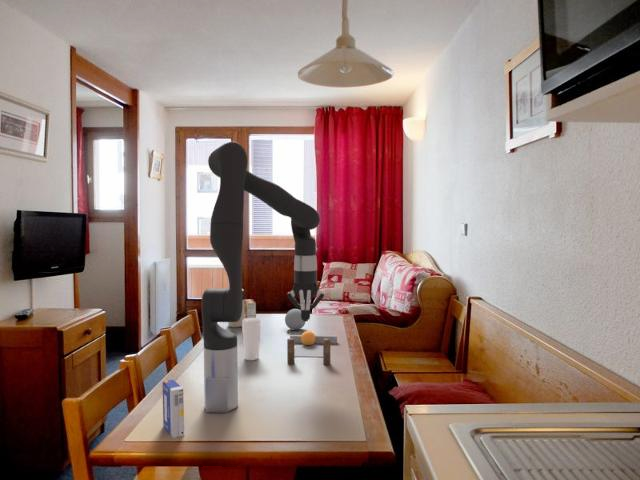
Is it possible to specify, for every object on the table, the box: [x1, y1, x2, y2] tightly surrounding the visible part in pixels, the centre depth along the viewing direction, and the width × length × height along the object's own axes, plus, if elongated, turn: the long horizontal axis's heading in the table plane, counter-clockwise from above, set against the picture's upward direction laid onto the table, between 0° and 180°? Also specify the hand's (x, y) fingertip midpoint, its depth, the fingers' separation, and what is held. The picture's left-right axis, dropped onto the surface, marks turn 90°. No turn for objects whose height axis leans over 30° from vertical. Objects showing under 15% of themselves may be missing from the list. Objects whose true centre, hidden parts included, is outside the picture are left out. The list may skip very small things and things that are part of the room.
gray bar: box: [289, 334, 338, 345], centre depth 191 cm, size 2×20×3 cm, turn 87°
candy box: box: [244, 298, 257, 318], centre depth 206 cm, size 9×4×15 cm, turn 17°
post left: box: [286, 337, 296, 365], centre depth 163 cm, size 3×3×9 cm
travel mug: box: [227, 288, 245, 328], centre depth 222 cm, size 8×8×18 cm
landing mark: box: [294, 345, 323, 358], centre depth 178 cm, size 14×14×1 cm
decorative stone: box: [284, 308, 307, 331], centre depth 213 cm, size 10×10×10 cm
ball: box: [301, 330, 316, 346], centre depth 187 cm, size 6×6×6 cm
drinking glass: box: [241, 317, 262, 362], centre depth 169 cm, size 7×7×15 cm
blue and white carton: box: [162, 379, 185, 439], centre depth 111 cm, size 8×3×12 cm, turn 36°
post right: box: [322, 339, 331, 366], centre depth 163 cm, size 3×3×9 cm
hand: (305, 320), depth 148 cm, fingers closed
